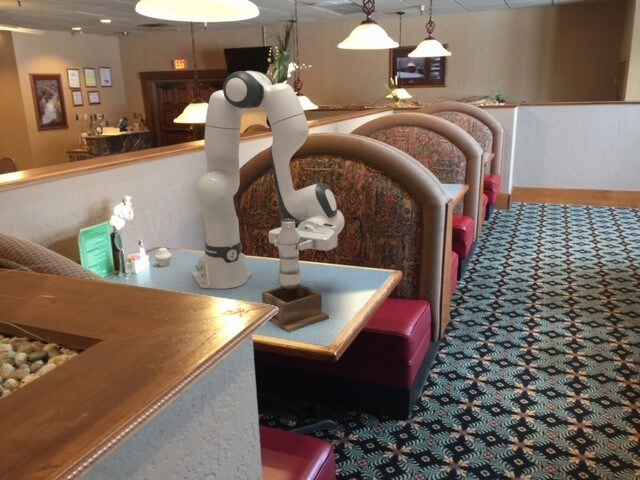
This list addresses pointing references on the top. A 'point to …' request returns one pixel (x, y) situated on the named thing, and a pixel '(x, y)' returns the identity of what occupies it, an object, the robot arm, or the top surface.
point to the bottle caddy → (295, 307)
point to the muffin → (163, 257)
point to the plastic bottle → (288, 255)
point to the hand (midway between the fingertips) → (287, 245)
